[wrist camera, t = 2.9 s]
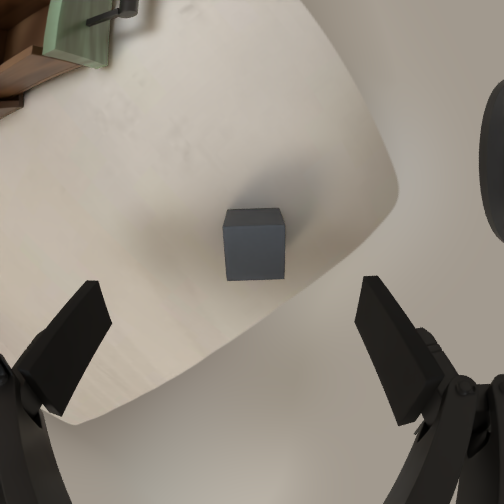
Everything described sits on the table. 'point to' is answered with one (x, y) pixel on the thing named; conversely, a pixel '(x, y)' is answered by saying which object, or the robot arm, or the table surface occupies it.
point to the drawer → (53, 39)
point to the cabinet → (11, 105)
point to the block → (254, 244)
